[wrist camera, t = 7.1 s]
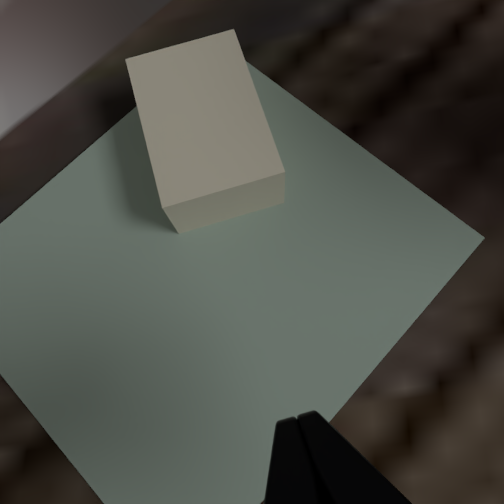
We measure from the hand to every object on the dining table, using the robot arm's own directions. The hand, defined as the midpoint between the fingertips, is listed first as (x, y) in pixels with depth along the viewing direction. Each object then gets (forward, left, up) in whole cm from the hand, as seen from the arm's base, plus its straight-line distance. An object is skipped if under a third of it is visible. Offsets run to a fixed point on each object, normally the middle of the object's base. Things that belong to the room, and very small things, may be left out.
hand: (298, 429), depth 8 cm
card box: (+9, -5, -10) cm, 14 cm away
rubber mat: (+8, -2, -13) cm, 15 cm away
